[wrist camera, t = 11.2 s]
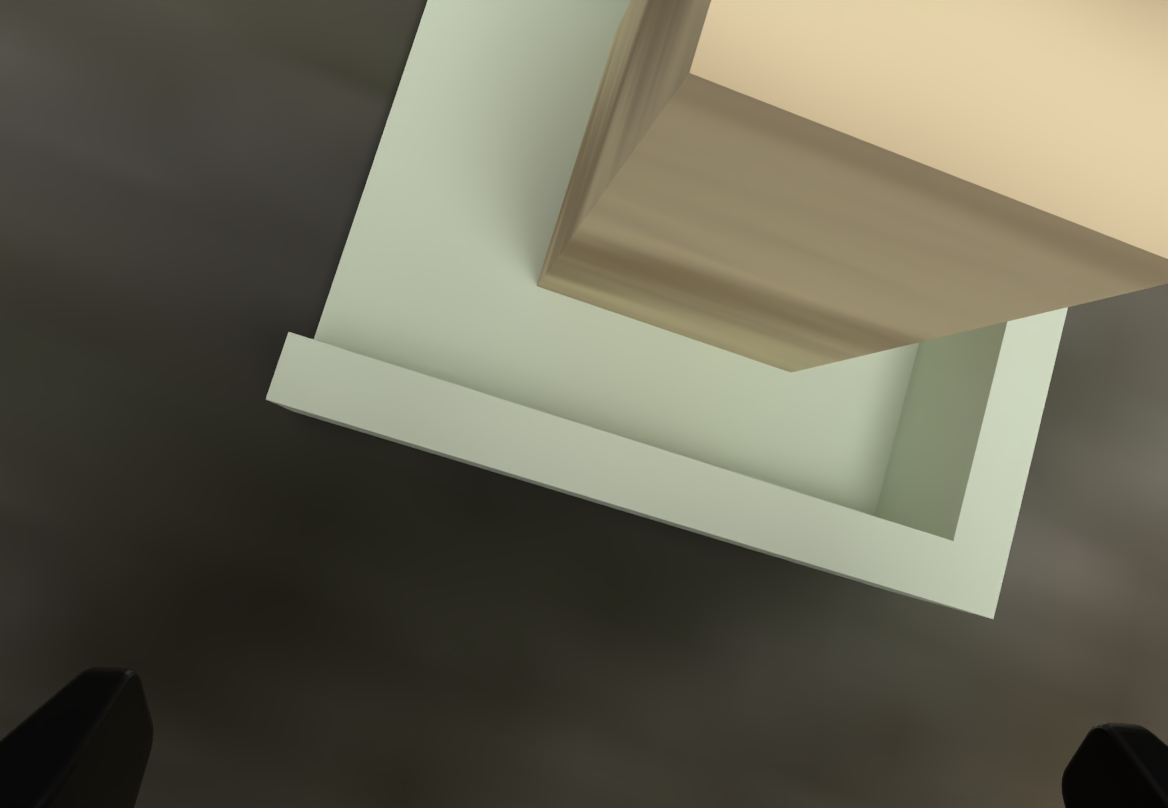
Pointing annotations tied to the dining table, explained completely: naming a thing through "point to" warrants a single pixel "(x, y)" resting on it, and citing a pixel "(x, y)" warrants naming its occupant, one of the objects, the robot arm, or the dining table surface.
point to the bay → (641, 346)
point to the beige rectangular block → (867, 169)
